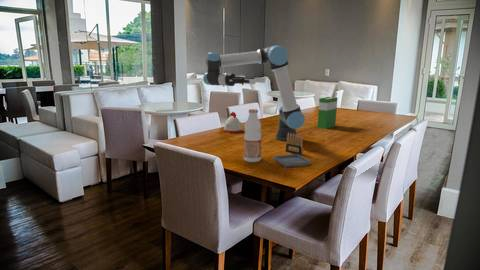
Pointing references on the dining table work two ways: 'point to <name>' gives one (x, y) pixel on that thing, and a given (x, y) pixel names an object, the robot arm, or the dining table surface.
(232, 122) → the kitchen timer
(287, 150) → the ammunition clip
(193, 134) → the dining table surface
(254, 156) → the white milk bottle
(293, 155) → the tray
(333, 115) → the green white box
